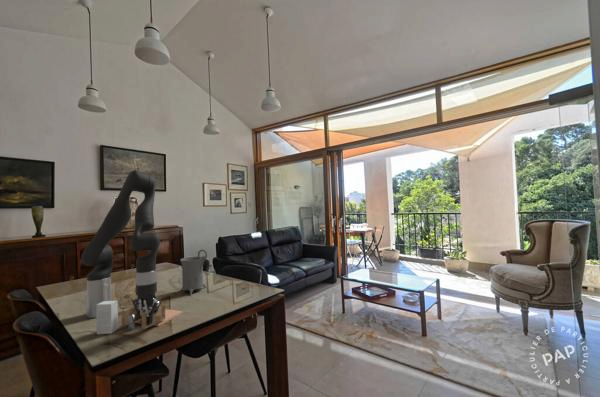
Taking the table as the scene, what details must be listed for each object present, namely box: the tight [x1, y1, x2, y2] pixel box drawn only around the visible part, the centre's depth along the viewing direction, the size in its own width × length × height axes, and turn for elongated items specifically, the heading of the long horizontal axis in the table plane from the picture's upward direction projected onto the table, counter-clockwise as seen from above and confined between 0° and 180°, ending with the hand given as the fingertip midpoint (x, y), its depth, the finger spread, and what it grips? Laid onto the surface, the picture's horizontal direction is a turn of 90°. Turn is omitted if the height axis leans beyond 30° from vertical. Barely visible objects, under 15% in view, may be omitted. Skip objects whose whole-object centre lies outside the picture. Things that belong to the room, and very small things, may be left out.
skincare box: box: [96, 300, 119, 335], centre depth 108 cm, size 6×4×12 cm
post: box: [127, 314, 136, 331], centre depth 110 cm, size 2×2×6 cm
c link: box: [121, 304, 166, 329], centre depth 113 cm, size 10×13×6 cm
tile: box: [135, 308, 184, 327], centre depth 121 cm, size 15×14×1 cm
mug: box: [179, 249, 208, 296], centre depth 158 cm, size 19×15×25 cm
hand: (146, 324), depth 108 cm, fingers closed on c link
